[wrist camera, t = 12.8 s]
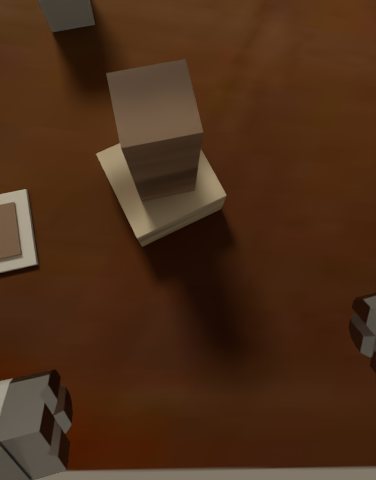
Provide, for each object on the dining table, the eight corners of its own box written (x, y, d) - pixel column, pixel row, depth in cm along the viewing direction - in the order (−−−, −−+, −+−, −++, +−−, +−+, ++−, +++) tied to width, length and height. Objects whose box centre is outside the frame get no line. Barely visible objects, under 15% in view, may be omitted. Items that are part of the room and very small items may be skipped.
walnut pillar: (194, 190, 28) (203, 132, 18) (141, 201, 28) (121, 148, 18) (183, 140, 29) (185, 59, 19) (131, 151, 29) (106, 73, 19)
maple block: (221, 209, 32) (226, 195, 28) (142, 247, 31) (136, 238, 27) (182, 138, 33) (182, 115, 30) (106, 173, 33) (96, 153, 29)
